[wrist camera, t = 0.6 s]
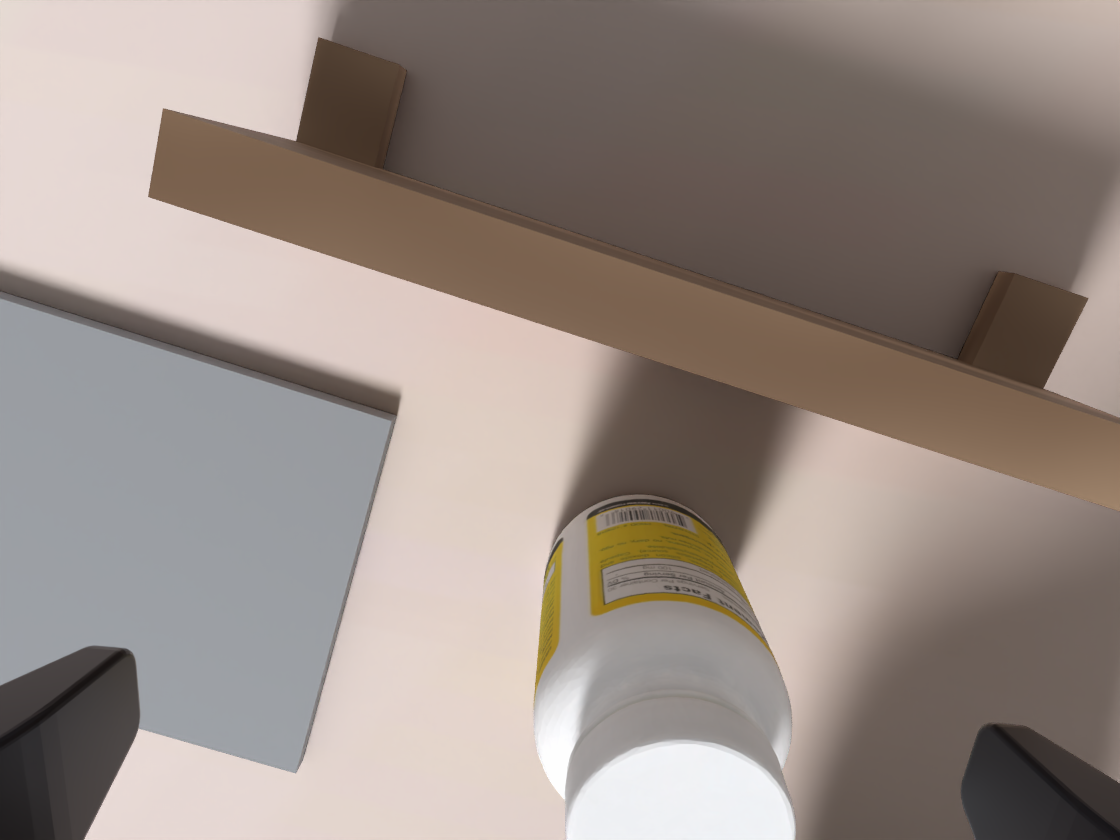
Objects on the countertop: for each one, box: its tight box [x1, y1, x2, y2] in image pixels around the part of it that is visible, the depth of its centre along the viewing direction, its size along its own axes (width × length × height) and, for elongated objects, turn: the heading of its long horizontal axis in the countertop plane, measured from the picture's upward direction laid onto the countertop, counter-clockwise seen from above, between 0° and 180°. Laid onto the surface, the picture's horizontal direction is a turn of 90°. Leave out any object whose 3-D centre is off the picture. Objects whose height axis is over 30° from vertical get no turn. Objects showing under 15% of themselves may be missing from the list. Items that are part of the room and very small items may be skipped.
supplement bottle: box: [534, 495, 796, 840], centre depth 18 cm, size 5×5×10 cm
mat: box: [0, 291, 396, 773], centre depth 22 cm, size 12×12×1 cm
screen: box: [148, 37, 1120, 511], centre depth 17 cm, size 4×20×7 cm, turn 72°
